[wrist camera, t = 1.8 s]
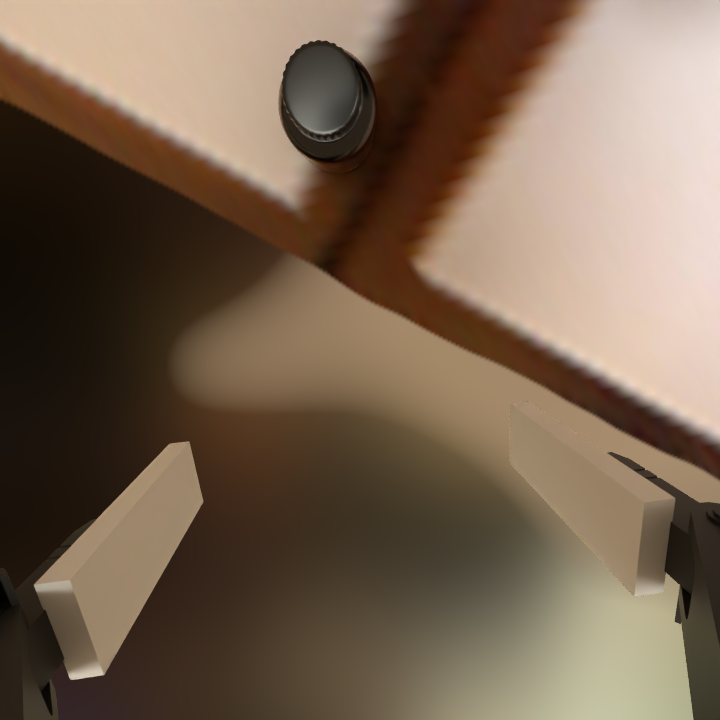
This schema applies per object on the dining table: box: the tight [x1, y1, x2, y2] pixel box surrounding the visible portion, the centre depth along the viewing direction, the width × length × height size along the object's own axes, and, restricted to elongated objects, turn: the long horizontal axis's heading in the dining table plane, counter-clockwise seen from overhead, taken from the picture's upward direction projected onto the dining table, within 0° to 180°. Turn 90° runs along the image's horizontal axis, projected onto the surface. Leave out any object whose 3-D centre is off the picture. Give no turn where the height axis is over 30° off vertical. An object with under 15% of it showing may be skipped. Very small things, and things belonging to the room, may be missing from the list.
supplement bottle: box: [279, 40, 377, 174], centre depth 27 cm, size 7×7×12 cm
